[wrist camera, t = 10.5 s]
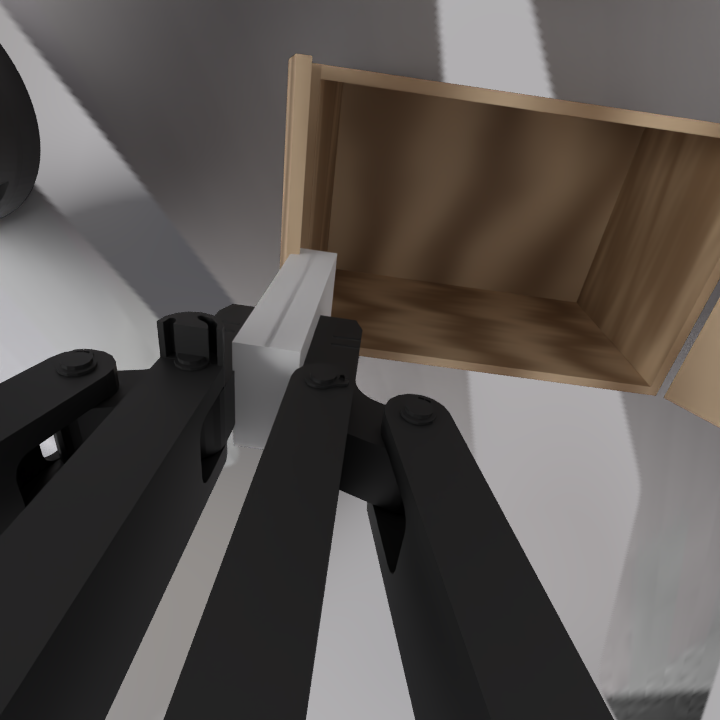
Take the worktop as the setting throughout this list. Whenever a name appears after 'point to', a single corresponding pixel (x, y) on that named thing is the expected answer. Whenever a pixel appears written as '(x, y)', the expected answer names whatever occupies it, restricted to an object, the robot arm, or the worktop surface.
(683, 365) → the flap
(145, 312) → the worktop surface
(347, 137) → the carton
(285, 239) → the flap
